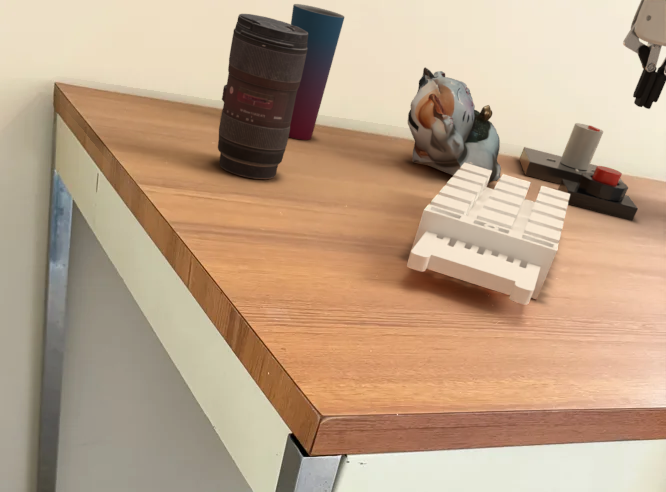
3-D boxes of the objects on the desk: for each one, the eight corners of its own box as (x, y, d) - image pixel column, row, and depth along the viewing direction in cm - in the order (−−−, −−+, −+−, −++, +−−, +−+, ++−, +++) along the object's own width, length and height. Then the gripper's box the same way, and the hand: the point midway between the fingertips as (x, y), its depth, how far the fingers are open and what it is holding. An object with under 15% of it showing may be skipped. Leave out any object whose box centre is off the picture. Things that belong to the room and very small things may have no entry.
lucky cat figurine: (504, 194, 112) (502, 90, 101) (414, 209, 115) (403, 110, 104) (496, 136, 121) (494, 36, 110) (413, 152, 124) (403, 55, 113)
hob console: (608, 182, 134) (615, 168, 132) (620, 200, 125) (627, 185, 124) (519, 159, 134) (524, 145, 133) (524, 175, 125) (530, 160, 124)
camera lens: (234, 181, 92) (260, 26, 82) (201, 157, 97) (222, 9, 87) (294, 183, 96) (325, 36, 86) (259, 161, 101) (285, 19, 91)
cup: (325, 139, 117) (353, 17, 108) (302, 143, 112) (329, 16, 103) (286, 125, 119) (309, 4, 110) (261, 128, 115) (283, 2, 105)
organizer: (570, 193, 98) (551, 275, 71) (553, 234, 101) (529, 327, 74) (464, 162, 100) (406, 229, 73) (451, 202, 103) (390, 282, 76)
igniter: (623, 207, 121) (634, 183, 119) (632, 220, 115) (644, 195, 113) (557, 190, 121) (567, 165, 119) (563, 202, 116) (573, 177, 113)
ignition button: (614, 183, 118) (619, 170, 117) (618, 189, 115) (624, 176, 114) (589, 176, 118) (594, 163, 117) (593, 182, 115) (598, 169, 114)
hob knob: (554, 159, 129) (570, 119, 125) (576, 162, 131) (592, 123, 127) (570, 168, 126) (587, 127, 122) (593, 171, 127) (610, 131, 124)
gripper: (656, -75, 97) (591, 98, 108) (782, -46, 96) (703, 124, 107) (644, -74, 103) (583, 89, 114) (762, -48, 102) (689, 113, 113)
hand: (641, 105), depth 111 cm, fingers closed
